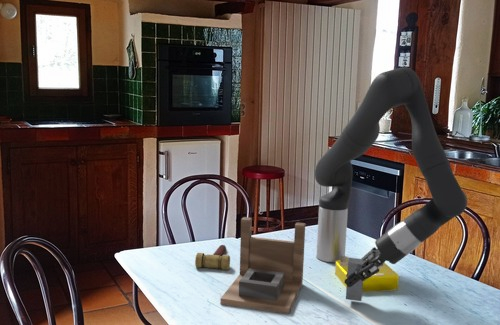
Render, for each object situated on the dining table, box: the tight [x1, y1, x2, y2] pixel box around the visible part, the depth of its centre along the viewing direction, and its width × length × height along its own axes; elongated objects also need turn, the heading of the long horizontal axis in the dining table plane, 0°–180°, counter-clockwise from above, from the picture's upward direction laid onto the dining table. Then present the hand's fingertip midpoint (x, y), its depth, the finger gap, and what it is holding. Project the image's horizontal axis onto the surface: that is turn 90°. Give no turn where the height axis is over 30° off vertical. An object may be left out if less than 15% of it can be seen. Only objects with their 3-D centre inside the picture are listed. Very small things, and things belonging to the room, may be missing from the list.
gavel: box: [194, 244, 231, 271], centre depth 170 cm, size 21×5×10 cm
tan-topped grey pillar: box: [340, 256, 365, 302], centre depth 139 cm, size 4×6×10 cm, turn 75°
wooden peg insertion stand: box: [219, 216, 306, 315], centre depth 143 cm, size 20×18×18 cm
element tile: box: [334, 260, 400, 292], centre depth 156 cm, size 15×15×5 cm
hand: (347, 280), depth 140 cm, fingers closed on tan-topped grey pillar, 4 cm apart
